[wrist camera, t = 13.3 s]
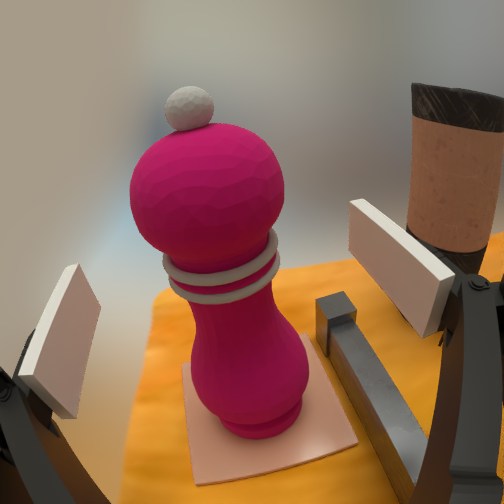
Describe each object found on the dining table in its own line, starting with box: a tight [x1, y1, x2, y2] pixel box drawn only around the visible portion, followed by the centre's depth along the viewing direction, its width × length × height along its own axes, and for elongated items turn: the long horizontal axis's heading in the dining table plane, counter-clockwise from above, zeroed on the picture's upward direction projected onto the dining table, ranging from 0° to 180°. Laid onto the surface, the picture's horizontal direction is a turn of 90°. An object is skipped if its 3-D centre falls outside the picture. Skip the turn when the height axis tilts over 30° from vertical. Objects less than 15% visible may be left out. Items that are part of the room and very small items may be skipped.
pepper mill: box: [130, 86, 309, 440], centre depth 15 cm, size 7×7×20 cm
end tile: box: [182, 333, 359, 486], centre depth 20 cm, size 11×11×1 cm
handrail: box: [316, 291, 428, 504], centre depth 14 cm, size 24×2×4 cm, turn 12°
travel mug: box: [401, 83, 504, 331], centre depth 20 cm, size 8×8×20 cm
